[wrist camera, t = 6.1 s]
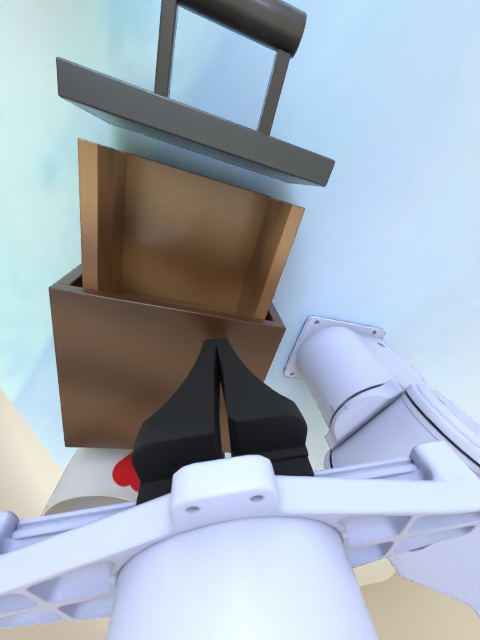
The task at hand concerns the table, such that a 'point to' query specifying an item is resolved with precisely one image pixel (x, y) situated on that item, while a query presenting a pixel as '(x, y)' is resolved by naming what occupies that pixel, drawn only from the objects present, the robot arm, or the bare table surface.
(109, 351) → the cabinet
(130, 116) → the drawer
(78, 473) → the cup
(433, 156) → the table surface
